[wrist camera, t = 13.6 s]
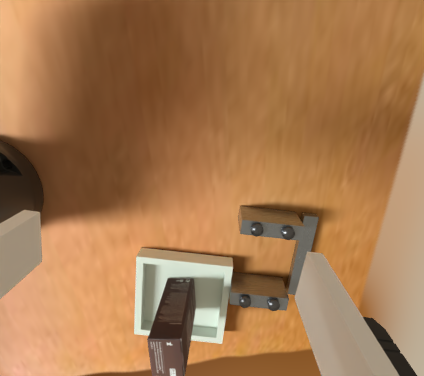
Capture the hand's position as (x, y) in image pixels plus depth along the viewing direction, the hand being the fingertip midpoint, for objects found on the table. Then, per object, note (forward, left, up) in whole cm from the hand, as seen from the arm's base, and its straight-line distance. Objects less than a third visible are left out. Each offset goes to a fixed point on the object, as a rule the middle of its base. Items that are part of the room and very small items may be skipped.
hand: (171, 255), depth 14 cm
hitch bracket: (+11, -13, -27) cm, 32 cm away
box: (-1, -22, -26) cm, 35 cm away
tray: (-1, -22, -27) cm, 35 cm away
